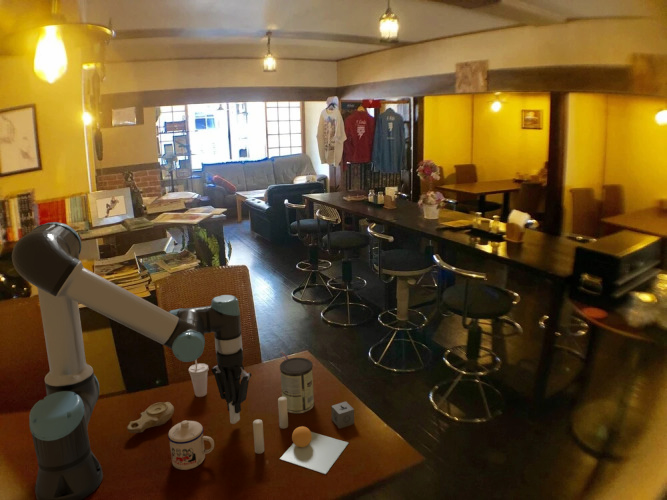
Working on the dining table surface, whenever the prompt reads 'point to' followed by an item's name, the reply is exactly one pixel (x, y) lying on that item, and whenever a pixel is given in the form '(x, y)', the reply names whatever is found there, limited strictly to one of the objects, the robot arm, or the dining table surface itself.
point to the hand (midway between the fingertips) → (235, 420)
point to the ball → (301, 436)
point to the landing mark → (316, 453)
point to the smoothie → (199, 378)
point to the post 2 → (283, 412)
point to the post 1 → (258, 436)
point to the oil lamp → (152, 417)
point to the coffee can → (297, 384)
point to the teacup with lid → (188, 444)
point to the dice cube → (342, 414)
